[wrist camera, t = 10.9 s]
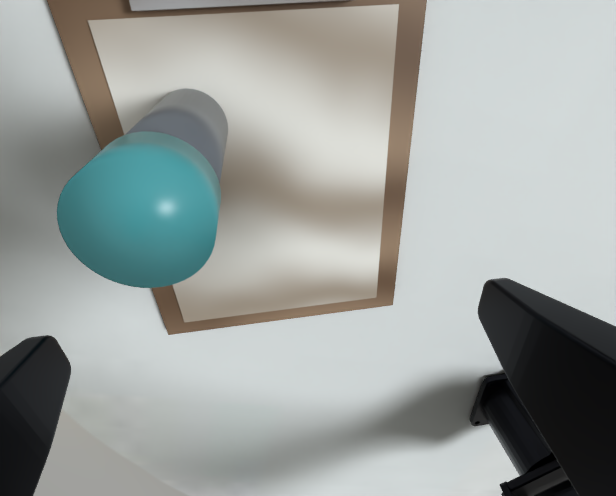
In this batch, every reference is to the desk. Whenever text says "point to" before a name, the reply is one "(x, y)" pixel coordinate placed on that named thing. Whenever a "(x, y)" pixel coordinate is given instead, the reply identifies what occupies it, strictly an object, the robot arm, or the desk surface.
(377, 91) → the clipboard
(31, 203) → the desk surface
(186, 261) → the glue stick
